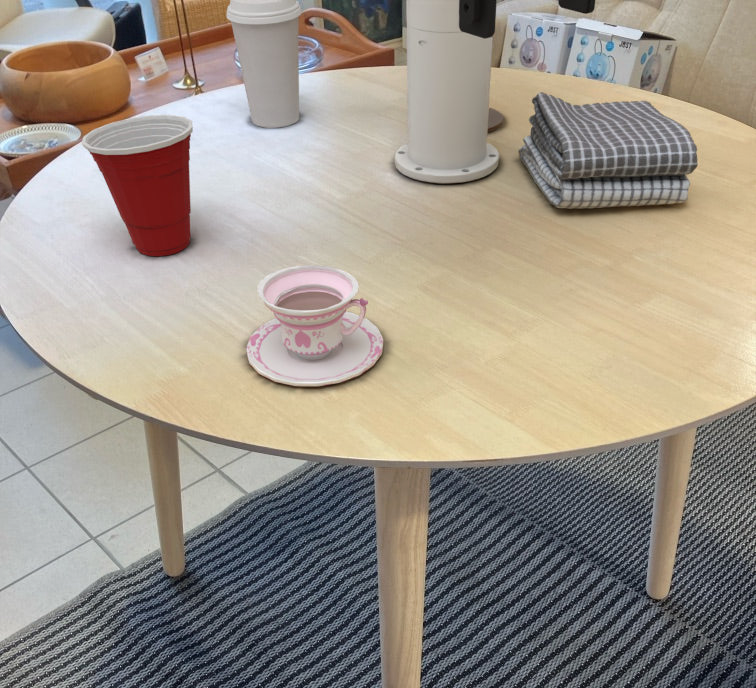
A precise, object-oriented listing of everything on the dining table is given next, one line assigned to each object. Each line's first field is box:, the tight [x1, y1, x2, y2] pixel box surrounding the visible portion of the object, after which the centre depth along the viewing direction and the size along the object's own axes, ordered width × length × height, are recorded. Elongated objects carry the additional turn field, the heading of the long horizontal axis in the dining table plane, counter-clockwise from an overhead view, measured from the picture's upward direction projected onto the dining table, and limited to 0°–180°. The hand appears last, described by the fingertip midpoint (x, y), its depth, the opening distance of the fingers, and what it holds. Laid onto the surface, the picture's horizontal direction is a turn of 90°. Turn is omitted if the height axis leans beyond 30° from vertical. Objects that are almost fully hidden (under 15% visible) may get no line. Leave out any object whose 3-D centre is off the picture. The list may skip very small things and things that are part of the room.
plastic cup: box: [81, 114, 194, 257], centre depth 87 cm, size 11×11×12 cm
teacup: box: [245, 264, 384, 387], centre depth 73 cm, size 12×12×6 cm
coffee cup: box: [225, 0, 303, 129], centre depth 112 cm, size 10×10×15 cm
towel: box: [518, 91, 699, 209], centre depth 96 cm, size 15×18×8 cm
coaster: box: [487, 107, 504, 134], centre depth 114 cm, size 10×10×1 cm
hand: (527, 21), depth 62 cm, fingers open, 9 cm apart
